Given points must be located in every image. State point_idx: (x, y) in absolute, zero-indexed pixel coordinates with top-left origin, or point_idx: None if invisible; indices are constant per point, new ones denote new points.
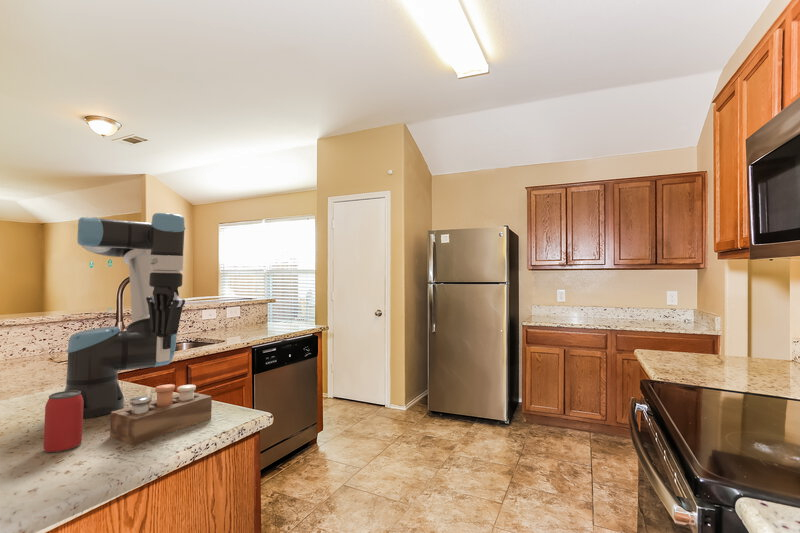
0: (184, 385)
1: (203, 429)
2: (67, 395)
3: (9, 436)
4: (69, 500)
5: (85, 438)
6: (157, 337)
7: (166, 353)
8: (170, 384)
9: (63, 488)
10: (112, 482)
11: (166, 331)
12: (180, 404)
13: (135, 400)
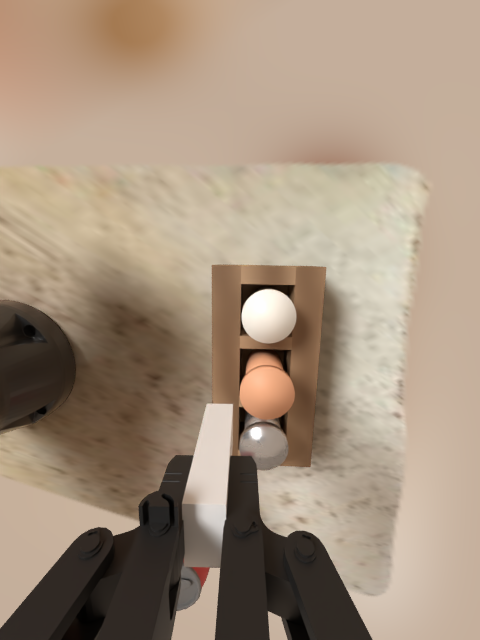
0: (246, 309)
1: (353, 323)
2: (185, 588)
3: (63, 493)
4: (389, 554)
5: (185, 448)
6: (191, 562)
7: (231, 441)
8: (257, 371)
9: (349, 543)
10: (395, 513)
11: (293, 630)
12: (310, 360)
13: (265, 462)
